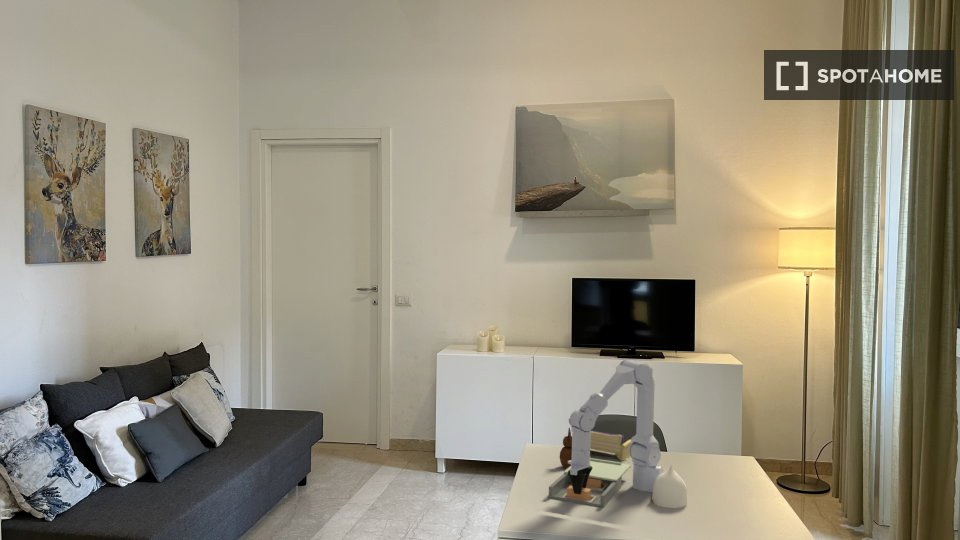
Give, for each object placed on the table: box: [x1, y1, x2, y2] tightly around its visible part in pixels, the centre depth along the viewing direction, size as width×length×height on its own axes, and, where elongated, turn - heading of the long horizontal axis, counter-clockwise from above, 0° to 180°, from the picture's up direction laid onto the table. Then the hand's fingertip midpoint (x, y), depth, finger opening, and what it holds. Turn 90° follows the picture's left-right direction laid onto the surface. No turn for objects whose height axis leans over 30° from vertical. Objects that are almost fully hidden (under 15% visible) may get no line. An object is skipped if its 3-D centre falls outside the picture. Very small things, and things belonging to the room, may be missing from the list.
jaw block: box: [567, 486, 591, 501], centre depth 242 cm, size 7×3×3 cm, turn 65°
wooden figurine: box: [559, 427, 572, 469], centre depth 278 cm, size 7×6×15 cm
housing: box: [548, 472, 623, 508], centre depth 248 cm, size 18×21×5 cm
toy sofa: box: [590, 430, 631, 462], centre depth 295 cm, size 21×9×10 cm, turn 59°
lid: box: [563, 457, 632, 482], centre depth 260 cm, size 18×18×1 cm
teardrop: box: [651, 465, 688, 509], centre depth 244 cm, size 11×11×12 cm
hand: (579, 491), depth 241 cm, fingers open, 4 cm apart
